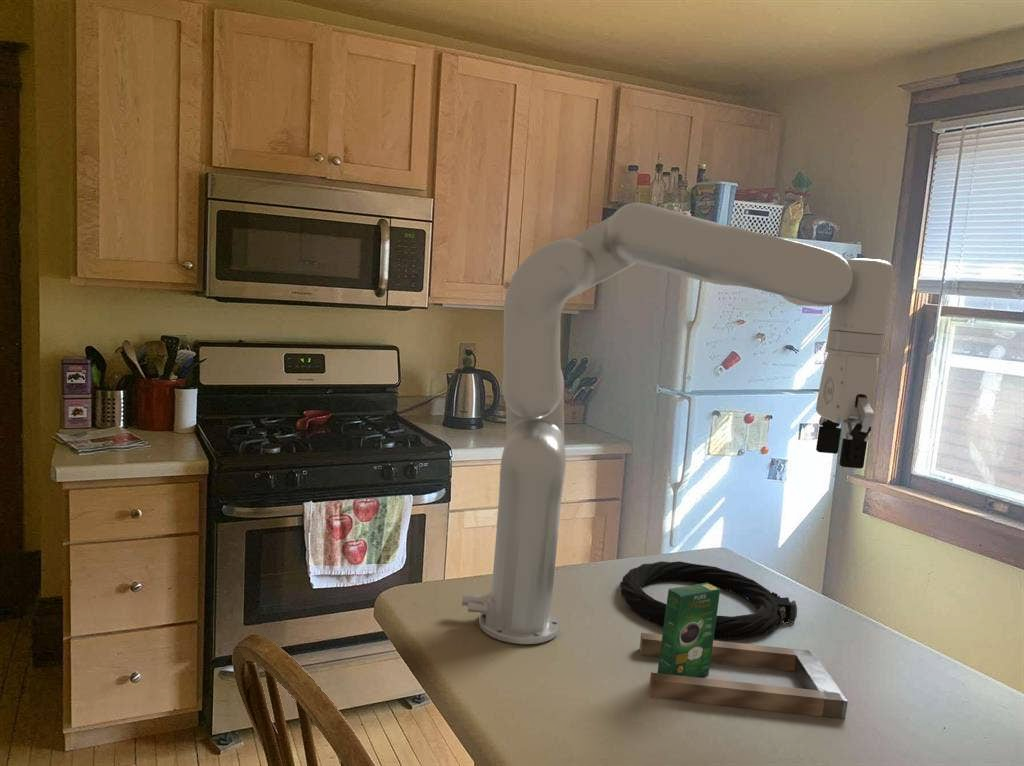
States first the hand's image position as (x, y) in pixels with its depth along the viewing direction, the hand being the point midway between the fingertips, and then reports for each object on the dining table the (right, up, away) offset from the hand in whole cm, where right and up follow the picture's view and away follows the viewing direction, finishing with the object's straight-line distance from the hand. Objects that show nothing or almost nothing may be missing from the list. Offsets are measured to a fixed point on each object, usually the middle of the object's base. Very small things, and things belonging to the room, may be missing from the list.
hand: (838, 459), depth 113 cm
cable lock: (-15, -28, +21) cm, 38 cm away
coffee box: (-24, -30, -5) cm, 39 cm away
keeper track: (-17, -31, -5) cm, 36 cm away
